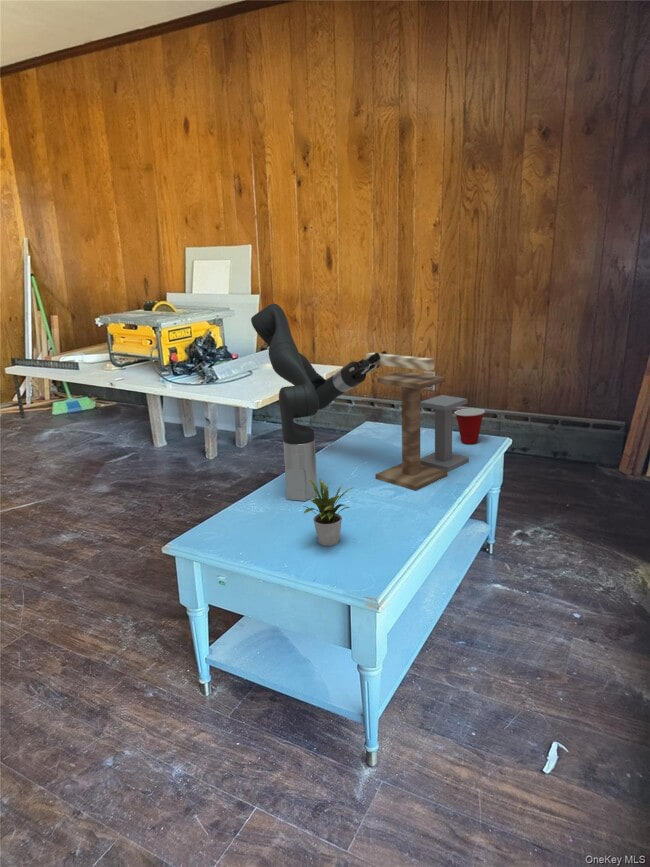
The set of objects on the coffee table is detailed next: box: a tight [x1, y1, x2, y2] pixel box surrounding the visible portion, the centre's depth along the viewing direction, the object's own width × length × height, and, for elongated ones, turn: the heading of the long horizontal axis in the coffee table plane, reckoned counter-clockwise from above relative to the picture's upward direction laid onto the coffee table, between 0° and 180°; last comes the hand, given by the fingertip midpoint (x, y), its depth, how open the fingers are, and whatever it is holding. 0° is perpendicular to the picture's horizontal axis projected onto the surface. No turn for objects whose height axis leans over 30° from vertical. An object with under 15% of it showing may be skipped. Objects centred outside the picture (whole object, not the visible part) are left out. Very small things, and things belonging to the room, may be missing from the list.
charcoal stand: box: [420, 394, 470, 472], centre depth 196 cm, size 12×12×22 cm
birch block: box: [365, 352, 435, 371], centre depth 181 cm, size 24×3×3 cm, turn 44°
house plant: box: [303, 478, 354, 547], centre depth 147 cm, size 14×14×16 cm
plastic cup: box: [454, 408, 486, 445], centre depth 218 cm, size 11×11×12 cm
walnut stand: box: [375, 370, 449, 492], centre depth 184 cm, size 16×16×32 cm
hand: (382, 354), depth 185 cm, fingers closed on birch block, 3 cm apart
